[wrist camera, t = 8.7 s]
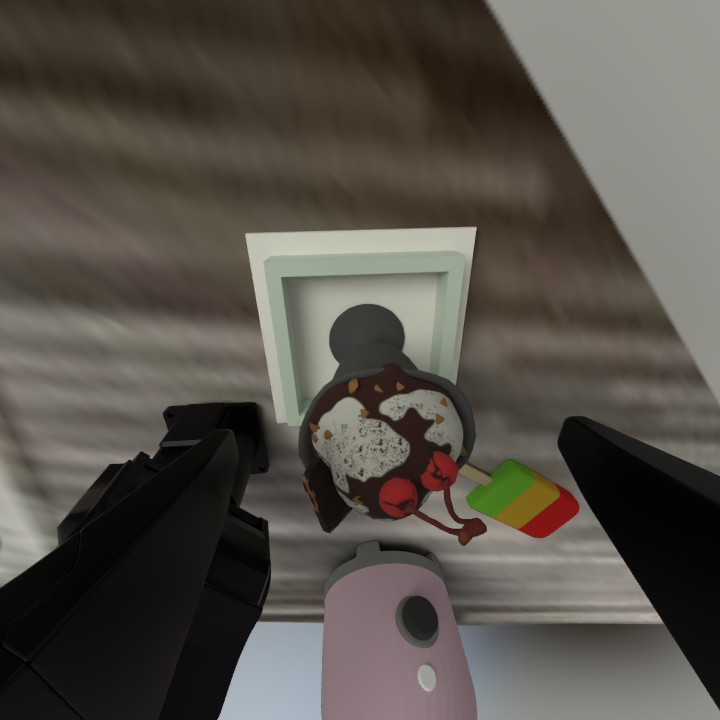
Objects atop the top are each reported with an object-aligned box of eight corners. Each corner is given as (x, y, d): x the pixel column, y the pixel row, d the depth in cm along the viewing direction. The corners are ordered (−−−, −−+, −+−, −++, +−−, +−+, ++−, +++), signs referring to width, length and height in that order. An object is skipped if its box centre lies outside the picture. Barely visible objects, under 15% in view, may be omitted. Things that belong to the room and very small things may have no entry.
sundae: (425, 292, 20) (602, 484, 7) (407, 386, 23) (504, 649, 10) (318, 283, 19) (271, 475, 6) (314, 380, 22) (276, 654, 9)
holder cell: (449, 409, 25) (461, 431, 23) (278, 419, 24) (272, 441, 22) (473, 226, 19) (491, 230, 17) (247, 232, 18) (235, 237, 16)
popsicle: (531, 526, 32) (541, 543, 31) (415, 469, 28) (420, 486, 26) (574, 492, 31) (588, 509, 29) (457, 425, 26) (465, 440, 24)
